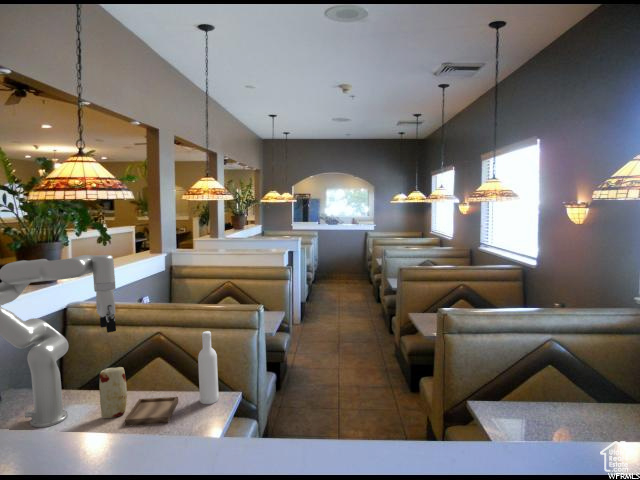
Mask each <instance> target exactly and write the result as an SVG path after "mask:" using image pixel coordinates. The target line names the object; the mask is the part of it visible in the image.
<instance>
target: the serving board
mask: <svg viewBox="0 0 640 480" xmlns="http://www.w3.org/2000/svg"><path fill="white" fill-rule="evenodd" d="M178 404H179V396H168V397H167V396H165V397H151V398H150V397H149V398H139V399H138V401H137V402H136V403H135V405H134V406H132V409H131V410H130V411H129V413H128V414H127V416H126V417H125V418H124V427H127V426H128V427H129V426H130V425H132V426H143V425H144V426H147V425H160V424H168V423H169V422H170V420H171V418H172V416H173V414H174V412H175V410H176V408H177V406H178Z"/></svg>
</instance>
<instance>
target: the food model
mask: <svg viewBox="0 0 640 480" xmlns="http://www.w3.org/2000/svg"><path fill="white" fill-rule="evenodd" d="M98 385H99V387H98V388H99V391H98V392H99V402H100V404H99V405H100V411H101V417H102V418H105V419H110V418H111V419H113V418H117V417H120V416H121V417H122V416H123V415H125V412H126V409H127V402H128V401H127V399H128V392H127V391H128V390H127V388H128V387H127V380H126V373H125V369H124V367H122V366H118V367H108V368H105V369H103V370H100V373H99V384H98Z"/></svg>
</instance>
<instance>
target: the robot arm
mask: <svg viewBox="0 0 640 480" xmlns="http://www.w3.org/2000/svg"><path fill="white" fill-rule="evenodd" d="M89 274H92V276H93V291H94V292H95V293H96V294H95V296H96V297H95V301H96V302H95V304H96V305H95V306H96V314H98V316H99V322H100V323H99V325H100V328H101V329H102V328H106V332H107V333H113V332H116V330H117V327H116V326H117V325H116V318H115V315H116V302H115V294H114V291H115V290H116V276H115V261H114V257H113V255H112V254H99V255H93V254H82V255H77V256H74V257H70V258H63V259H55V260H48V259H47V258H40V259H31V260H24V259H23V260H17V261H12V262H9V263H7V264H6V263H5V264H4V265H3V266H2V267H1V268H0V280H1V282H0V336H1V337H2V338H3V339H4V340H6V342H7V343H9V344H11V346H13V347H15V348H17V349H25V348H27V347H28V348H29V346H32V345H34V346H32V348H31V349H30V350H29V352H28V353H27V364H28V367H29V370H30V377H31V385H32V398H33V409H27V410H25V411H24V418H31V420H30V421H29V423H30V425H31V427H34V428H45V427H51V426H54V425H56V424H59V423H61V422H63V421H64V420H66V419H67V417H68V415H69V414H68V410H65V409H63V406H64V405H63V395H62V381H61V380H62V379H61V372H60V368H59V366H58V363H57V361H58V360H59V359H61V358H62V357H64V355H66V353H67V352H68V350H69V342H68V340H67V338H66V337H65V336H64V335H63V334H62V333H60V332H59V331H58V330H57V329H55V328H54V327H53V326H51V325H50V324H49V323H48V322H46V321H45V320H43V319H40V318H36V317H35V318H34V317H33V318H28V319H27V320H24V319H22V318H21V317H19V316H18V315H16V314H15V313H14V312H12V311H10V310H8V309H5V308H4V307H2V306H4V305H5V304H10V303H11V302H13V301H15V300H16V299H18V298H19V296H21V294H22V293H24V291H25V290H26V289H27V287H28V286H29V285H30V284H31V283H39V282H45V281H46V282H47V281H49V282H50V281H59V280H68V279H69V280H70V279H74V278H75V279H77V278H80V277H83V276H85V275H89Z"/></svg>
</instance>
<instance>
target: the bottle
mask: <svg viewBox="0 0 640 480" xmlns="http://www.w3.org/2000/svg"><path fill="white" fill-rule="evenodd" d="M201 338H202V340H201V341H202V342H201V343H202V349H201V350H200V351H199V353H198V356H197V361H198V362H197V364H198V366H197V367H198V384H199V403H201V404H202V405H212V404H215V403H218V401H219V397H220V396H219V377H218V376H219V375H218V354H217V352H216V350H215V349H214V348H213V347H212V332H211V331H210V330H207V331H206V330H205V331H203V332H202V333H201Z"/></svg>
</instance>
